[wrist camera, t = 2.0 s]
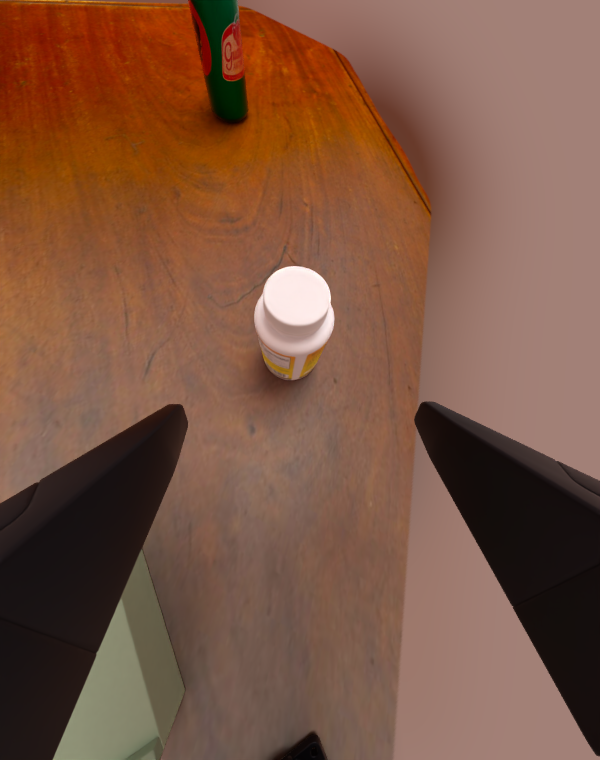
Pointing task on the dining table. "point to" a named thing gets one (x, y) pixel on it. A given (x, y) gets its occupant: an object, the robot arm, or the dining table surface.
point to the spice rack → (128, 684)
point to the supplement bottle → (293, 321)
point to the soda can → (221, 56)
